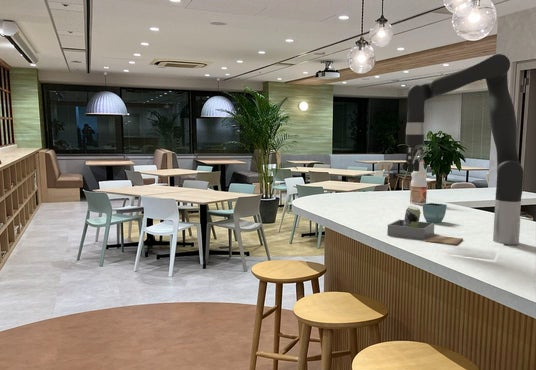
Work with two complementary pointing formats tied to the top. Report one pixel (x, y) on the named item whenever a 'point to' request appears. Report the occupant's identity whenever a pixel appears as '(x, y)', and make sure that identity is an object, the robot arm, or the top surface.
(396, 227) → the bin
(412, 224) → the beverage can
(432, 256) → the top surface
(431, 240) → the pad
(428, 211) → the flower pot
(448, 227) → the top surface
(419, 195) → the fruit juice
